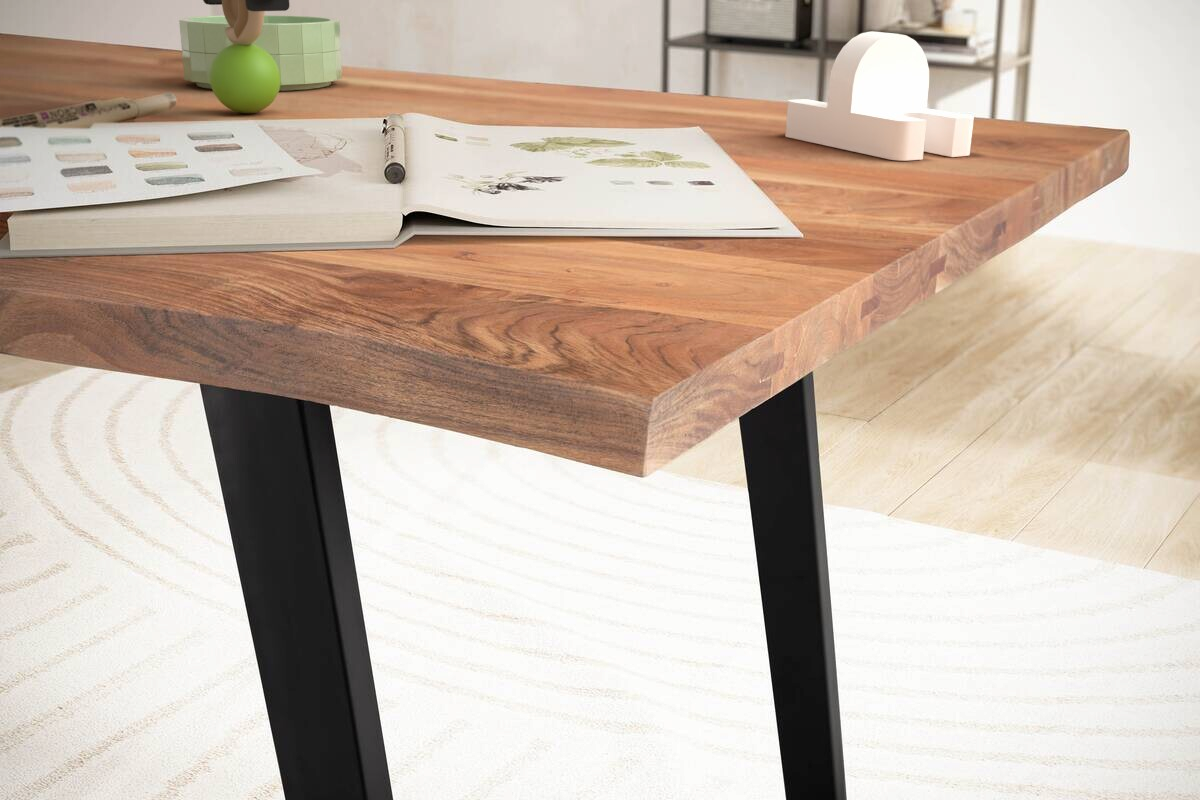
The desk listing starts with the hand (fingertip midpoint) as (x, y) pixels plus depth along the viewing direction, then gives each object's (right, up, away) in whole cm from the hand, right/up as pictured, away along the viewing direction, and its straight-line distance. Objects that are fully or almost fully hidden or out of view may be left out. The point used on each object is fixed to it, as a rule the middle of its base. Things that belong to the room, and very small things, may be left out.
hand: (245, 7), depth 99 cm
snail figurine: (0, -8, +3) cm, 8 cm away
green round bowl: (-5, 0, +24) cm, 24 cm away
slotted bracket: (+47, -12, -7) cm, 50 cm away
